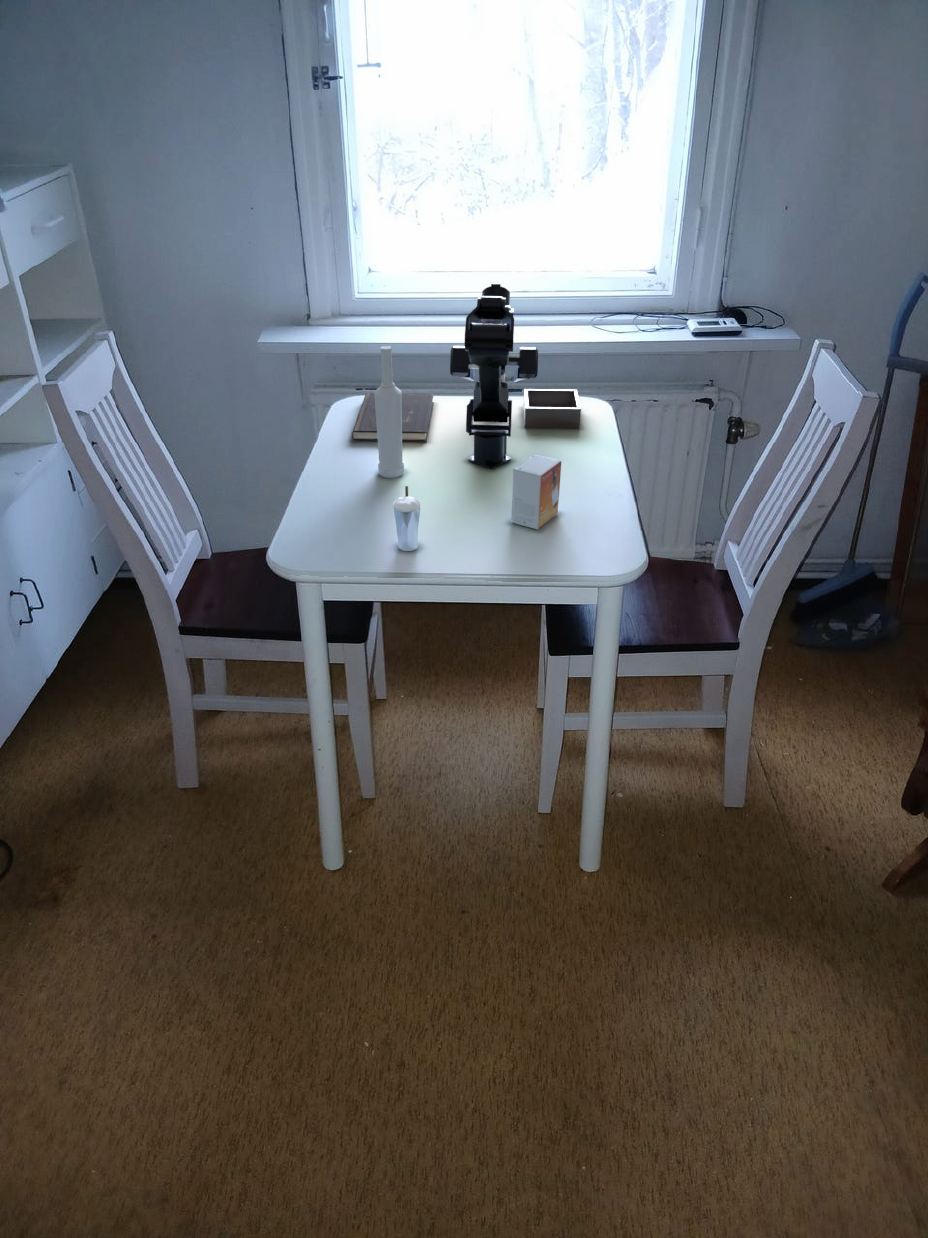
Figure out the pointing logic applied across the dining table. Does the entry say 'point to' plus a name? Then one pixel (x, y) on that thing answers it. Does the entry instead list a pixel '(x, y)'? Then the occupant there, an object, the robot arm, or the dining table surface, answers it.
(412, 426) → the hardcover book
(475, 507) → the dining table surface
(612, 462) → the dining table surface
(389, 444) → the bottle
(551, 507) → the small box
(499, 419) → the robot arm
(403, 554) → the dining table surface
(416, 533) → the milkshake
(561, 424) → the crate
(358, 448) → the dining table surface
